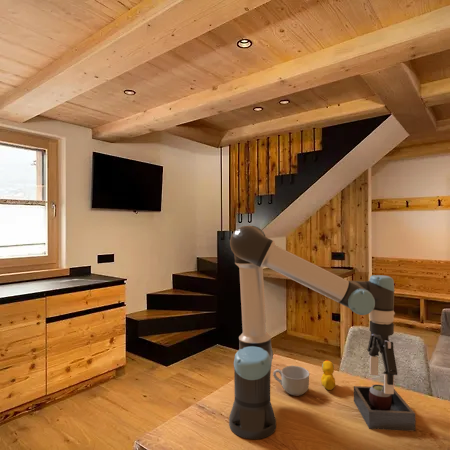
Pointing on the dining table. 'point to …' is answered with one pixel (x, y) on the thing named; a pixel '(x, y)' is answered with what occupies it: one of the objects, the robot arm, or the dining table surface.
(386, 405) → the mate gourd
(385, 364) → the robot arm
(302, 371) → the teacup
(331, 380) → the duckling
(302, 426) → the dining table surface
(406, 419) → the tray
